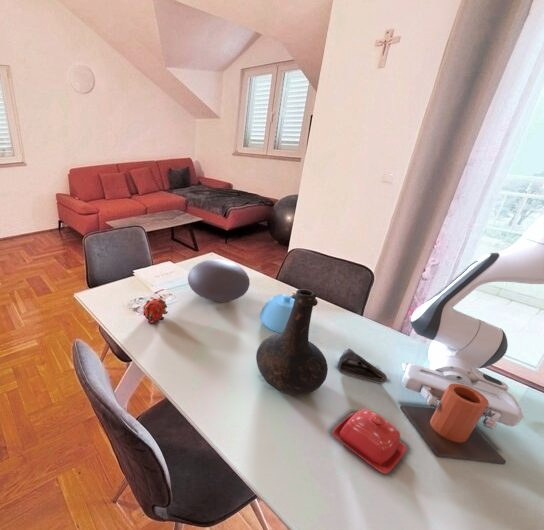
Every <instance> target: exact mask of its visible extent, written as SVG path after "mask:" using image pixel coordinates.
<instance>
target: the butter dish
mask: <svg viewBox="0 0 544 530" xmlns="http://www.w3.org/2000/svg"><path fill="white" fill-rule="evenodd" d="M332 436H333V437H334V438H335V439H336V440H337V441H339V442H340V443H341V444H343V445H344V446H345V447H347V448H348V449H349V450H350V451H352V452H353V453H354V454H356V455H357V456H358V457H360V458H361V459H362V460H363V461H365V462H366V463H367V464H369V465H370V466H372V467H373V468H374V469H375V470H376V471H379V472H380V473H382V474H384V475H388V474H389V473H390V472H391V471H393V469H394V468H395V467H396V465H397V464H398V463H399V462H400V460H401V459H402V458H403V456H404V455H405V454H406V452H407V446H406V445H405V444H404V443H403V442H401V440H400V439H401V433H400V431H399V429H397V427H395V426H394V425H393V424H392V423H391V422H390V421H388V420H386V419H385V417H383V416H381V415H380V414H377V413H375V412H374V411H371V410H370V409H367V408H361V409H359V410H358V411H356V412H352V413H351V414H349V415H348V416H347V417H346V418H344V419H343V420H342V421H341V422H339V424H337V426H335V428H334V429H333V430H332Z"/></svg>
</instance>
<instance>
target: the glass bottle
mask: <svg viewBox="0 0 544 530" xmlns="http://www.w3.org/2000/svg"><path fill="white" fill-rule="evenodd" d="M290 296H291V297H292V298H293V299H295V301H294V304H293V307H292V311H291V314H290V316H289V319H288V322H287V324H286V326H285V329H284V331H283V332H282V333H277V334H273V335H270V336H268V337H267V338H265V339H264V340H263V341H262V342H261V343H260V344H259V345H258V347H257V350H256V354H255V355H256V356H255V360H256V365H257V368H258V371H259V373H260V376H261V377H262V378H263V379H264V381H265V382H266V383H267V384H268V385H269V386H270V387H272V388H274V389H275V390H277V391H279V392H281V393H284V394H287V395H291V396H302V395H303V396H304V395H308V394H311V393H313V392H315V391H317V390H318V389H320V388H321V386H322V385H323V384H324V383H325V381H326V379H327V377H328V371H329V367H328V362H327V359H326V357H325V355H324V353H323V352H322V351H321V350H320V348H319V347H317V345H316V344H314V343H312V342H311V341H310V340H309V336H310V335H309V334H310V325H311V319H312V314H313V309H314V307H317V306H318V303H319V301H318V299H317V296H318V295H317V293H316V292H314V291H312V290H309V289H306V288H300V289H297V290H296V292H295V293H294V294H292V295H290Z"/></svg>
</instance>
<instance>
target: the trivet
mask: <svg viewBox="0 0 544 530" xmlns="http://www.w3.org/2000/svg"><path fill="white" fill-rule="evenodd" d="M399 408H400V410H401V411H402V413H403V414H404V415H405V417H406V418H407V419H408V420H409V422H410V423H411V425H412V426H413V427H414V428H415V430H416V432H418V434H419V435H420V437H421V438H422V439H423V441H424V442H425V444H427V446H428V447H429V448H430V450H431V451H432V452H433V454H434V455H435V456H436V457H437V458H444V459H445V458H446V459H453V460H464V461H472V462H480V463H490V464H497V465H505V464H506V463H507V460H506V459H505V458H504V457H503V456H502V455H501V453H499V451H497V450H496V449H495V447H494V446H493V445H492V444H490V441H488V440H487V439H486V438H485V437H484V436H483V434H482V433H480V432H479V430H478V429H477V428H476V427H475V428H474V429H473V431H472V433H471V434H470V436H469V437H468V439H467V440H466V441H465V442H461V443H460V442H454V441H451V440H449V439H446V438H445V437H443V436H441V435H440V434H438V433H437V432H436V431H435V430H434V429H433V428H432V426H431V424H430V420H431V418H432V416H433V414H434V412H435V410H436V408H437V407H425V406H416V405H406V404H401V405H400V407H399Z"/></svg>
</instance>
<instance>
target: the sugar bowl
mask: <svg viewBox="0 0 544 530" xmlns="http://www.w3.org/2000/svg"><path fill="white" fill-rule="evenodd" d="M291 296H292V295H290V294H286V293H285V294H276V295H274V296H273V297H270V299H269V300H268V301H267V302H265V303H264V305H263V307H262V309H261V310H260V314H259V316H260V320H261V321H262V323H263V324H264V326H265V327H266V328H268V329H269V330H270V331H273V332H276V333H277V334H282V332H283V331H284V329H285V326H286V324H287V322H288V319H289V316H290V314H291V311H292V307H293V304H294V301H295V299H293V298H292V297H291Z"/></svg>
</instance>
